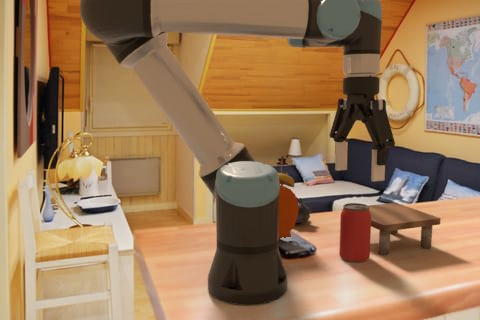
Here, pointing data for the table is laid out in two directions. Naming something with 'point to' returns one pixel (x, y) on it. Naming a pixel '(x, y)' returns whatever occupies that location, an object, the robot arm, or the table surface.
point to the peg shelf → (400, 223)
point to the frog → (303, 212)
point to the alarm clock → (286, 206)
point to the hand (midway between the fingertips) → (358, 175)
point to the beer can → (355, 232)
